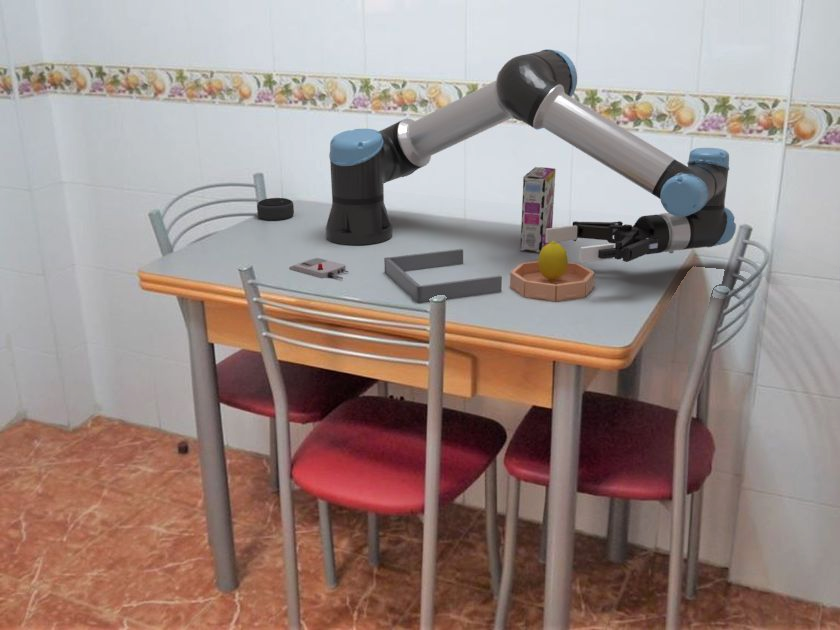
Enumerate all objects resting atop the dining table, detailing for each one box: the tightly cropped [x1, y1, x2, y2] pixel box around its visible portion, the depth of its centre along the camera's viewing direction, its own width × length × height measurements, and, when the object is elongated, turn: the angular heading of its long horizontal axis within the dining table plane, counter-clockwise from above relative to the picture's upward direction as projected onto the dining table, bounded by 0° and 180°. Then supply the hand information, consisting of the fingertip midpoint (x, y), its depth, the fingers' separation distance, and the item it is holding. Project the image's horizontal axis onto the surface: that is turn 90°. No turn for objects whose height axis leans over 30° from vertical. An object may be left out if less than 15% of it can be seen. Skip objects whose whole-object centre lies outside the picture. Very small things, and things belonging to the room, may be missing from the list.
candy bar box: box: [519, 166, 557, 254], centre depth 201 cm, size 11×5×16 cm, turn 161°
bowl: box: [509, 260, 595, 302], centre depth 177 cm, size 15×15×3 cm
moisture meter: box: [288, 257, 349, 280], centre depth 188 cm, size 7×16×3 cm, turn 50°
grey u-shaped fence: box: [383, 248, 503, 304], centre depth 181 cm, size 20×17×3 cm
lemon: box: [537, 241, 569, 282], centre depth 176 cm, size 6×6×8 cm
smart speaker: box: [256, 197, 295, 221], centre depth 229 cm, size 9×9×4 cm
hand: (562, 245), depth 174 cm, fingers open, 13 cm apart
